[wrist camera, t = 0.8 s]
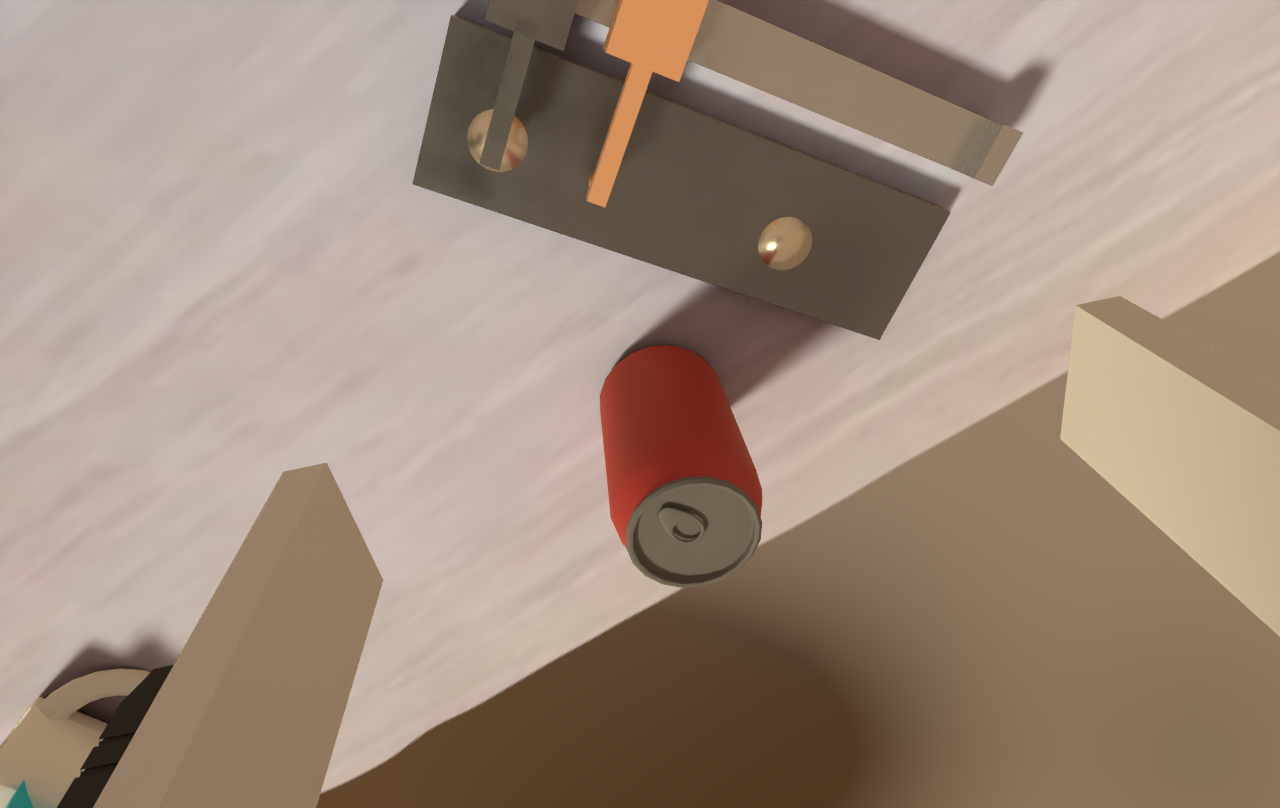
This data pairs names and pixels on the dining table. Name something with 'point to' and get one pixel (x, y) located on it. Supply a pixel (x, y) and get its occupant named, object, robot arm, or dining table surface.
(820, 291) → the hole plate
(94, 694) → the mug
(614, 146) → the block
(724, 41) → the beam
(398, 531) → the dining table surface
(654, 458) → the beer can
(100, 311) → the dining table surface
